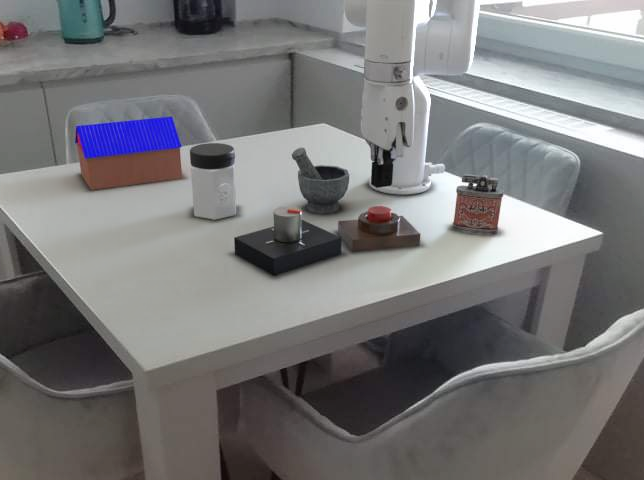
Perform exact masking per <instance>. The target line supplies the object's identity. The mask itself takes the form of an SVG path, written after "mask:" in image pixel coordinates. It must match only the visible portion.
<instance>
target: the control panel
mask: <svg viewBox="0 0 644 480" xmlns="http://www.w3.org/2000/svg"><path fill="white" fill-rule="evenodd" d="M342 240H343V239H342V237H341V236H340V235H337V234H334V233H332V232H331V231H329V230H326V229H324V228H321V227H319V226H317V225H315V224H313V223H310V222H308V221H306V220H304V219H302V238H301V239H300V240H298V241H295V242H280V241H277V240H275V239H274V225H273V226H271V227H267V228H262V229H259V230H255V231H252V232H248V233H245V234H241V235H238V236H234V237H233V241H234V255H236V256H237V257H239V258H241V259H242V260H244V261H246V262H248V263H249V264H252V265H253V266H255V267H257V268H258V269H260V270H262V271H264V272H265V273H268V274H269V275H270V276H272V277H276V276H279V275H282V274H284V273H287V272H290V271H294V270H297V269H300V268H303V267H307V266H309V265H312V264H315V263H318V262H321V261H324V260H327V259H332V258H334V257H337V256H340V255H342Z"/></svg>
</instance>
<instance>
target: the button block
mask: <svg viewBox="0 0 644 480" xmlns="http://www.w3.org/2000/svg"><path fill="white" fill-rule="evenodd" d="M357 218H358V219H348V220H338V221H337V233H338V236H339V237H341V238H342V239H341V240H342V241H343V242H344V243H345V244H346V245H347V247H348V249H349V250H350V251H351V252H352V253H355V252H356V253H357V252H366V251H367V252H368V251H377V250H389V249H399V248H412V247H420V243H421V233H420V232H419V231H418V229H416V227H414V226H413V224H411V223H410V222H409V221H408V220H407V218H405V217H404V216H403V215H398V214H397V213H395V212H392V211H391V220H390V221H388V222H372V221H370V220H368V219H367V218H368V210H367V211H364V212H362V213H360V214H359V216H358V217H357Z"/></svg>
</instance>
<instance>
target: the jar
mask: <svg viewBox="0 0 644 480" xmlns="http://www.w3.org/2000/svg"><path fill="white" fill-rule="evenodd" d="M189 158H190V159H189V160H190V161H189V162H190V177H191V191H192V203H193V215H194V217H196V218H201V219H202V218H203V219H207V220H213V221H216V220H221V219H225V218H229V217H235V216H236V215H237V197H236V194H237V193H236V172H235V171H236V169H235V163H236V153H235V148H234V147H233V146H232V145H230V144H226V143H220V142H219V143H218V142H208V143H201V144H197V145H193V146H192V147H190V149H189Z"/></svg>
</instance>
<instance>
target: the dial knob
mask: <svg viewBox="0 0 644 480" xmlns="http://www.w3.org/2000/svg"><path fill="white" fill-rule="evenodd" d="M302 220H303V211H302V209H301V208H300V207H297V206H290V205H289V206H280V207H276V208H274V210H273V226H274V239H275V240H277V241H280V242H295V241H298V240H300V239H301V238H302Z"/></svg>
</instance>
